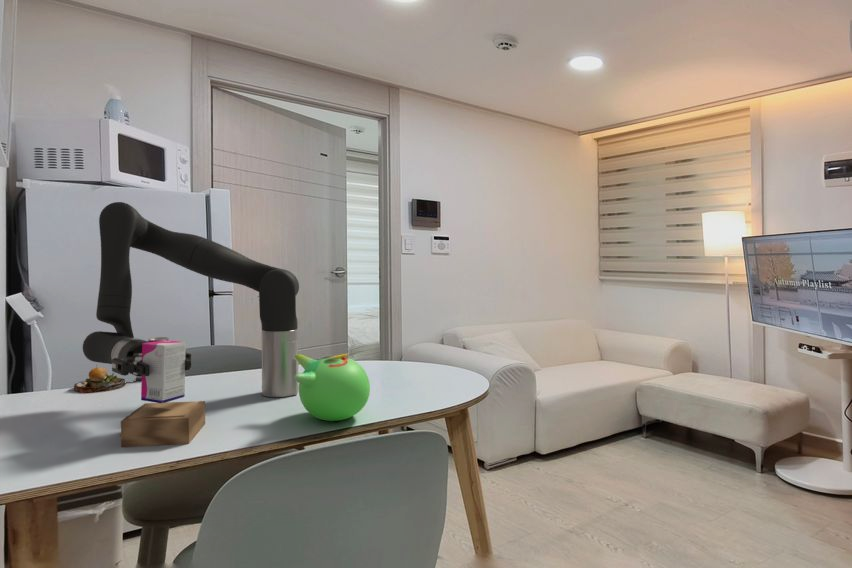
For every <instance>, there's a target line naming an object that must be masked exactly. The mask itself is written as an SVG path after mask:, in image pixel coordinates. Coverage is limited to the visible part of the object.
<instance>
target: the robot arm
mask: <svg viewBox="0 0 852 568" xmlns="http://www.w3.org/2000/svg"><path fill="white" fill-rule="evenodd" d="M98 217H99V218H98V223H99V224H98V225H99V226H98V227H99V236H100V237H99V238H100V278H99V286H98V287H99V288H98V296H97V305H96V314H95V315H96V319H97V320H98V321H99V322H102V323H106V324H109V325H111V326H113V327H114V329H115V332H114V331H113V332H112V331H101V330H100V331H98V330H97V331H94V332H91V333H89V334H88V335H87V336H86V337H85V339H84V340H83V343H82V352H83V355H84V356H85V358H86V359H87V360H89V361H91V362H95V363H100V364H101V363H102V364H110V365H111V370H112V371H111V372H112V373H114V374H115V373H116V374H118V375H121V376H129V374H131V375H132V376H136V377H142V375H143V376H149V365H148V364H146V363H143V362H142V344H143V343H149V342H148V340H145V339H141V338H137V337H134V331H133V327H132V322H131V308H132V300H133V299H132V297H133V284H132V283H133V281H132V274H131V267H130V266H131V265H130V251H131V248H132V249H136V250H139V251H143V252H147V253H151V254H153V255H156V256H159V257H161V258H163V259H165V260H167V261H169V262H170V263H172V264H173V263H174V264H175V265H177V266H180V267H182V268H184V269H186V270H189V271H191V272H195V273H196V274H198V275H202V276H205V277H208V278H212V279H215V280H219V281H223V282H226V283H233V284H237V285H241V286H243V287H247V288H249V289H252V290H253V291H256V292H257V293H258V302H259V303H258V305H259V307H258V308H259V319H260V323H261V395H262V396H264V397H266V398H267V397H269V398H285V397H290V396H297V395H298V394H299V382H297V381H296V380H295V378H294V377H295V375H296V374H299V362H298V361H297V360H296V358H295V355H296V354H298V348H299V347H298V338H299V337H298V333H299V332H298V318H297V309H296V308H297V306H296V303H297V302H296V300H297V299H296V298H297V295H298V293H299V290H300V283H299V280H298V278H297V277H296V275H295V274H294V273H292V272H291V271H290V270H287V269H283V268H279V267H276V266H271V265H268V264H265V263H262V262H258V261H256V260H253V259H251V258H249V257H248V256H245V255H244V254H241V253H239V252H238V251H235V250H234V249H232V248H229V247H227V246H225V245H223V244H220V243H218V242H215V241H213V240H210V239H208V238H206V237H203V236H199V235H196V234H191V233H185V232H177V231H172V230H169V229H166V228H164V227H162V226H160V225H158V224H156V223H154V222H151V221H149V220H148V219H147V218H145V217H143V216H142V215H141V214H140V212H138V210H137V209H136V208H134V207H133V206H132V205H131V204H129V203H126V202H122V201H116V202H111V203H109V204H107V205H105V206H104V208H103V209H102V210H101V212H100V213H99V216H98ZM191 368H192V353H188V352H186V351H185V371H190V369H191Z"/></svg>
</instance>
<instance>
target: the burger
mask: <svg viewBox="0 0 852 568" xmlns="http://www.w3.org/2000/svg"><path fill="white" fill-rule="evenodd" d="M95 365H96V367H94V368H92V369H91V370H90V371H89V372H88V377H89V378H88V377H87V378H85V380H82V381H79V382H77V383H74V385H73V391H74V392H78V391H79V392H80V394H81V393H84V394H85V393H87V392H88V393H89V394H90V393H92V394H93V393H102V392H109V391H110V392H111V391H114V390H118V389H122V388H124V387H125V386H126V379H125V378H121V377H118V375H114V374H115V372H112V373H111V374H110V375H109V372H108V370H107V369H106V368H105V367H98V365H97V364H95Z"/></svg>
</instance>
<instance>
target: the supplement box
mask: <svg viewBox="0 0 852 568" xmlns="http://www.w3.org/2000/svg"><path fill="white" fill-rule="evenodd" d="M168 340H169V339H168ZM168 340H162V341H156V342H149V343H143V344H142V362H143V363H146V364H148V365H149V376H143V375H142V376H141V387H140V389H141V390H140V391H141V393H140V400H141V401H143V402H144V401H145V402H149V403H150V402H151V403H162V404H163V403H168V402H173V401H176V400H179V399H181V398H184V397H185V395H186V393H185V391H186V389H185V388H186V370H185V352H186V347H187V346H186V345H187V344H186V341H178V340H169V341H168Z"/></svg>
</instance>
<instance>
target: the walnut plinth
mask: <svg viewBox="0 0 852 568" xmlns="http://www.w3.org/2000/svg"><path fill="white" fill-rule="evenodd" d="M205 425H206V400H202V401H201V400H200V401H199V400H195V401H176V402H175V401H169V402H166V403H163V404H162V403H156V402H151V403H150V402H146V403H143V404H142V405H141V406H139V407H138V408H137V409H135V410H134V411H132V412H131V413H130V414H128V415H127V416H125V417H124V418H122V420H120V447H121V448H129V447H131V448H132V447H150V446H151V447H152V446H166V445H169V446H170V445H185V444H190V443H191V442H192V441H193V440H194V438H195V437H196V436H197V435H198V434H199V432H200V431H201V430H202V429H203V427H204V426H205Z"/></svg>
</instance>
